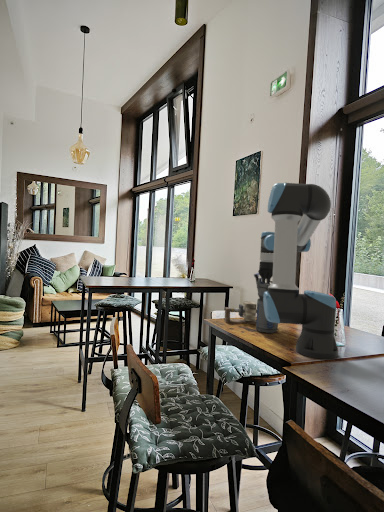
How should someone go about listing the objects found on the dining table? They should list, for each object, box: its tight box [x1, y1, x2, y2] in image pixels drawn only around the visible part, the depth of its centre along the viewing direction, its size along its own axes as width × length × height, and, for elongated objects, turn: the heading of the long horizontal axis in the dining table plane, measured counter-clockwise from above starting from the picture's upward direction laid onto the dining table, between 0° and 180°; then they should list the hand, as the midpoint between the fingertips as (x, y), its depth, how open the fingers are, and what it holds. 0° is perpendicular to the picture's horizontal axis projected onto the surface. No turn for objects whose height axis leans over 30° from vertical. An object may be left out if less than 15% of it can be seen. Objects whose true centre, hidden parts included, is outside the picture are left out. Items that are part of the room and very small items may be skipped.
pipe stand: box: [223, 306, 257, 325], centre depth 180 cm, size 22×7×7 cm, turn 93°
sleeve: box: [242, 300, 257, 321], centre depth 180 cm, size 5×9×9 cm, turn 3°
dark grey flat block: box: [238, 303, 243, 318], centre depth 180 cm, size 1×6×6 cm, turn 3°
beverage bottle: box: [255, 277, 279, 334], centre depth 162 cm, size 10×13×25 cm
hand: (264, 306), depth 180 cm, fingers closed
